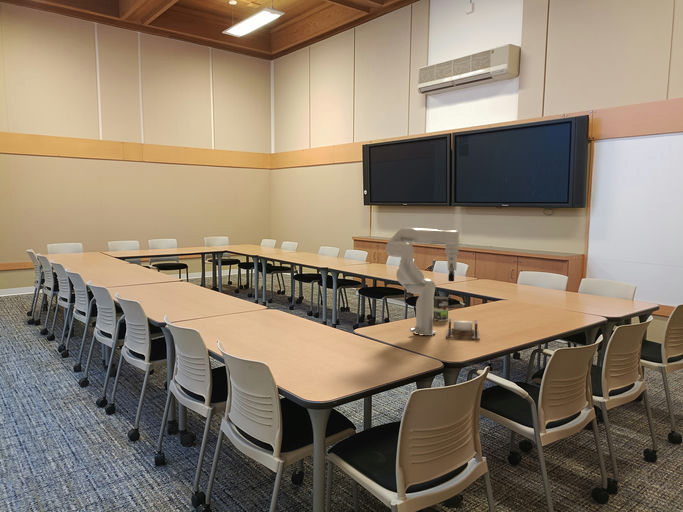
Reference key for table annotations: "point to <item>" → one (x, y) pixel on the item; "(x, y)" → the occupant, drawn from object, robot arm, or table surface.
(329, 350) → the table surface
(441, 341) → the table surface
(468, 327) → the paper towel roll
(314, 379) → the table surface
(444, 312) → the coffee can
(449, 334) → the roll holder
